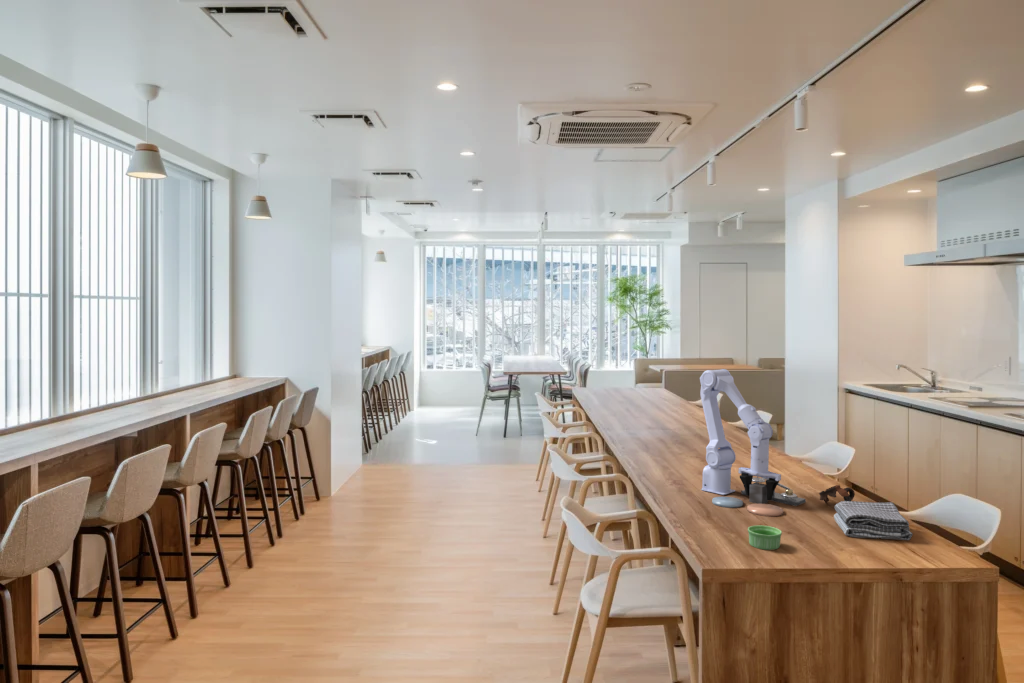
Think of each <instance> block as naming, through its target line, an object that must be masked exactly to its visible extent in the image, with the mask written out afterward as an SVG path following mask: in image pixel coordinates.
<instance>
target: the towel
mask: <svg viewBox="0 0 1024 683" xmlns="http://www.w3.org/2000/svg"><path fill="white" fill-rule="evenodd" d="M834 510H835V512H836V513H835V514H833V519H834V521H835V522H836V524H837V525H838V527H839V528H840V529H841V530H842V532H843V534H844V535H845V536H847V537H850V538H857V539H858V538H863V539H877V538H878V539H879V538H881V539H882V540H899V541H900V540H901V541H910V540H911V538H912V537H913V532H911V530H910V529H911V528H910V523H909V521H908V520H907V519H906V518H905V517H904V516H903V515H902V514H901V513H900V511H899V509H898V507H897V506H896V504H895V503H894V502H878V501H877V502H872V501H871V502H870V501H853V500H852V501H844V500H841V501H840V502H838V503H836V504H835V505H834ZM881 539H880V540H881Z"/></svg>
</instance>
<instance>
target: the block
mask: <svg viewBox="0 0 1024 683" xmlns="http://www.w3.org/2000/svg"><path fill="white" fill-rule="evenodd" d="M748 497H749V499H748V500H749V501H748V502H749V503H751V504H768V503H769V501H768V500H767V487H766V483H763V482H762V483H758V482H752V484H750V491H749V496H748Z"/></svg>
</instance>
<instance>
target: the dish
mask: <svg viewBox="0 0 1024 683" xmlns="http://www.w3.org/2000/svg"><path fill="white" fill-rule="evenodd" d="M746 510H747V511H748V512H749V513H750V514H753V515H756V516H757V515H758V516H763V517H778V516H782V515H784V508H782V507H780V506H777V505H775V504H774V505H773V504H768V503H764V504H757V503H751V504H750V503H749V504H748V505H747V508H746Z"/></svg>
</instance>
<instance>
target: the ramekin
mask: <svg viewBox="0 0 1024 683" xmlns="http://www.w3.org/2000/svg"><path fill="white" fill-rule="evenodd" d="M747 532H748V543H749V545H750V546H751V547H753V548H755V549H759V550H764V551H765V550H766V551H772V550H777V549H779V548H780V547H781V546H780V545H781V539H782V538H781V537H782V534H783V532H782V530H781V529H779V528H777V527H773V526H770V525H761V524H760V525H757V524H756V525H751V526H748V527H747Z"/></svg>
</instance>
